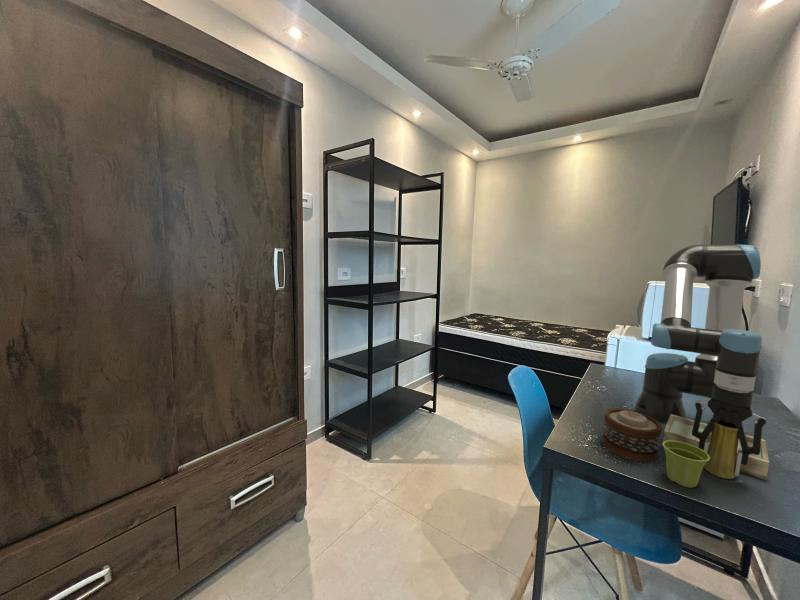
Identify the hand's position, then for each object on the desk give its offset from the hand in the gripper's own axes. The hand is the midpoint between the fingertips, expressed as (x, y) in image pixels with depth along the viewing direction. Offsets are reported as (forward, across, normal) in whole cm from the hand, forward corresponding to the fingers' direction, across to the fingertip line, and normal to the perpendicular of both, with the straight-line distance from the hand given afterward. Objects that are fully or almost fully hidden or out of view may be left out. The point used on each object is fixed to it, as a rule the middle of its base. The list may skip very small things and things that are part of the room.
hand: (719, 467), depth 90 cm
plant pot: (+2, -7, -12) cm, 14 cm away
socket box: (+1, -2, +13) cm, 13 cm away
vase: (+2, 0, 0) cm, 2 cm away
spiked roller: (+2, -20, -4) cm, 20 cm away
